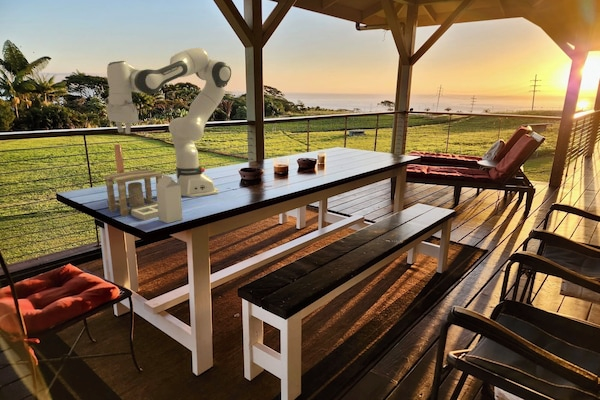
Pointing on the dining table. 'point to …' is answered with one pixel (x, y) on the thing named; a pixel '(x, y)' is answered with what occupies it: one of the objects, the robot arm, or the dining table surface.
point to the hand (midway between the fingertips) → (124, 132)
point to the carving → (135, 194)
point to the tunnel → (120, 180)
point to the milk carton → (169, 200)
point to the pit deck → (146, 212)
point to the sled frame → (120, 170)
